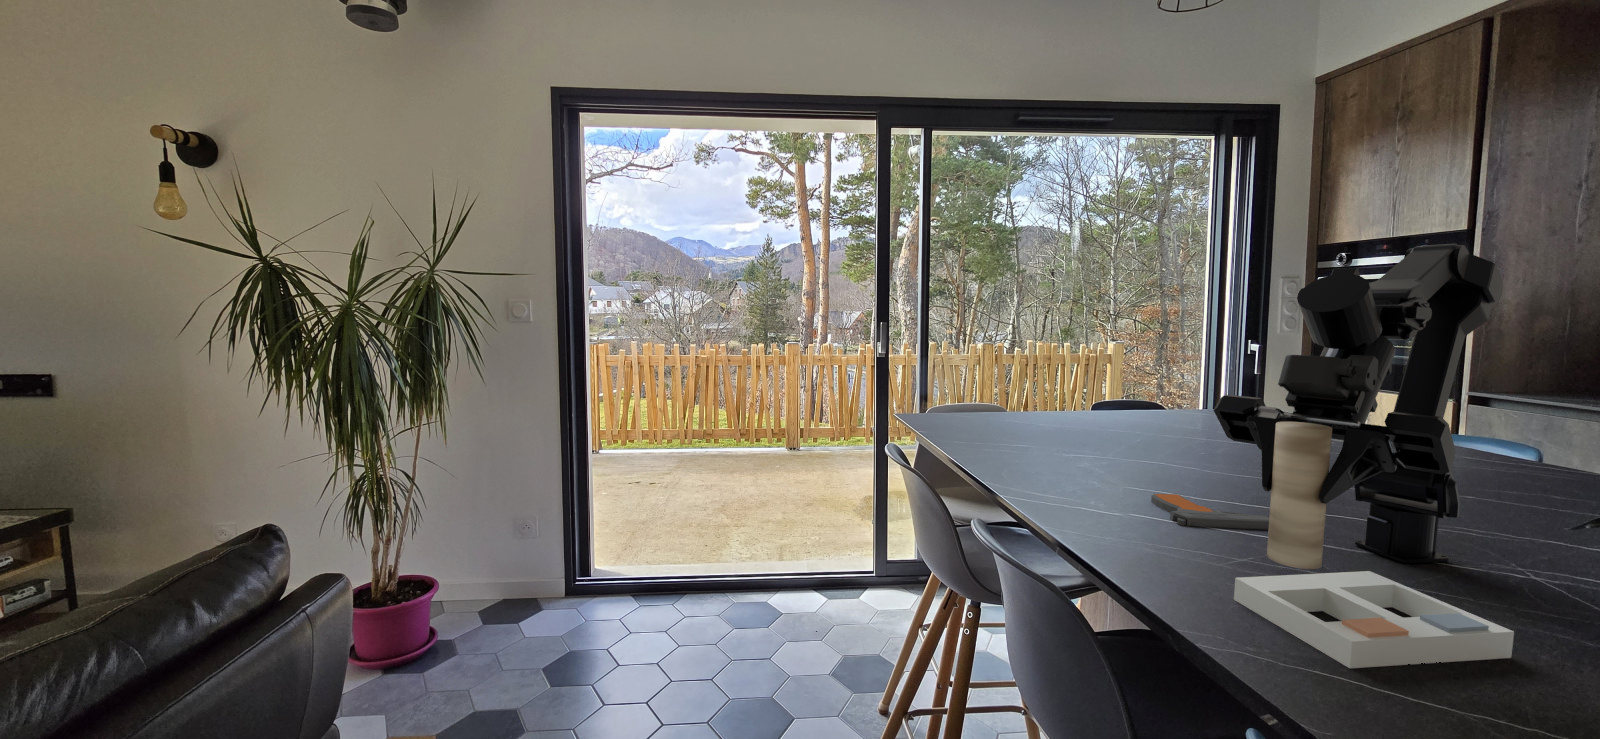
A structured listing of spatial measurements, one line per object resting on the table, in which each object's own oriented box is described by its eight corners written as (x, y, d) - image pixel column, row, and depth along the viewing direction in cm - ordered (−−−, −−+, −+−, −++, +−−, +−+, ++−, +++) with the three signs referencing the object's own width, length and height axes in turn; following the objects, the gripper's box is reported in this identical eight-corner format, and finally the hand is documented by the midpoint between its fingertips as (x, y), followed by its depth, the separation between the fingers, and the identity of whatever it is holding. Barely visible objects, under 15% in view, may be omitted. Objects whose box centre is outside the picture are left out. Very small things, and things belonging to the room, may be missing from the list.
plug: (1277, 548, 66) (1286, 420, 65) (1328, 562, 63) (1339, 426, 61) (1259, 557, 64) (1268, 424, 63) (1311, 572, 60) (1322, 431, 59)
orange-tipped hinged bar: (1253, 508, 99) (1300, 535, 88) (1147, 503, 102) (1179, 529, 90) (1254, 497, 99) (1301, 523, 87) (1148, 493, 102) (1180, 517, 90)
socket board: (1367, 592, 69) (1369, 567, 69) (1511, 657, 56) (1514, 627, 56) (1233, 599, 67) (1235, 574, 67) (1349, 668, 55) (1352, 637, 54)
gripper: (1226, 324, 71) (1168, 429, 66) (1457, 328, 55) (1402, 467, 51) (1255, 387, 76) (1203, 489, 71) (1475, 408, 60) (1426, 541, 55)
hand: (1292, 494), depth 62 cm, fingers closed on plug, 4 cm apart
